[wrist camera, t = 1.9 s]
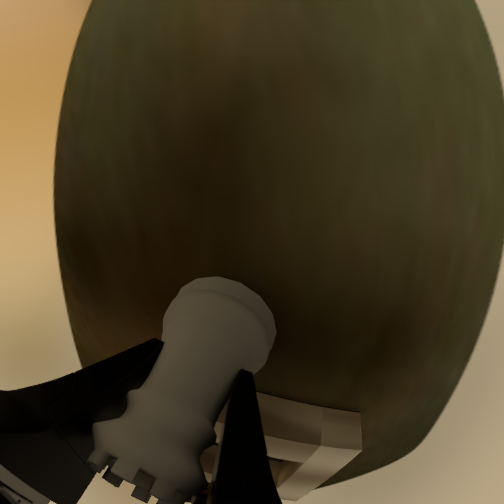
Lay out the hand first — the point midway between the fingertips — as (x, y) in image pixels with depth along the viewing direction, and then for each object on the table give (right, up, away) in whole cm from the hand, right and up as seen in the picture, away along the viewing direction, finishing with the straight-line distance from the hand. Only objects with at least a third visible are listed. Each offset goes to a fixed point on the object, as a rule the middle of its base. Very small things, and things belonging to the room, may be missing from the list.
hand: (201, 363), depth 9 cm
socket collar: (+2, -8, +6) cm, 10 cm away
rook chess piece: (+1, +1, +3) cm, 3 cm away
